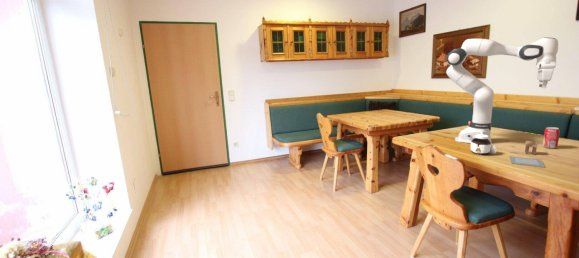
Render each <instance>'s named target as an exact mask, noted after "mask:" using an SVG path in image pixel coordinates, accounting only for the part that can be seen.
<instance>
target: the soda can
mask: <svg viewBox="0 0 579 258" xmlns="http://www.w3.org/2000/svg"><path fill="white" fill-rule="evenodd" d="M543 132H544V134H543V141H542V147H543V148H546V149H551V150H552V149H553V150H555V149H557V148H558V146H559V139H560V133H561V132H560V128H559V127H555V126H547V127H545V129H544V131H543Z"/></svg>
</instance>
